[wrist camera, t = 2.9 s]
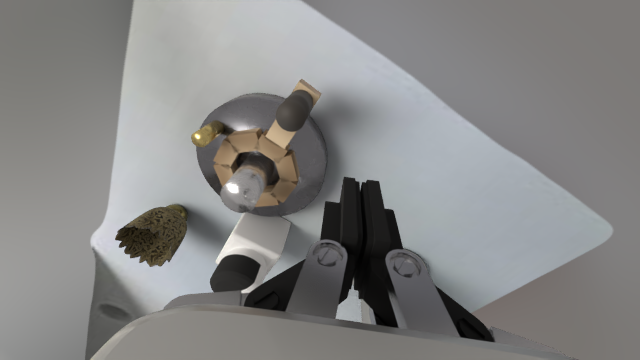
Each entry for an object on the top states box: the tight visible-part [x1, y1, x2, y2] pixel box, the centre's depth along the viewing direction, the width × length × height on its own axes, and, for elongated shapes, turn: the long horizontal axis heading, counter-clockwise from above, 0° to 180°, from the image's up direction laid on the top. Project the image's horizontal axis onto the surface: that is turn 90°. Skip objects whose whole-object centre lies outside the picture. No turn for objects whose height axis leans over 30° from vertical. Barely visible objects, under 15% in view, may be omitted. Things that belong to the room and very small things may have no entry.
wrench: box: [213, 79, 321, 207], centre depth 25 cm, size 16×10×7 cm, turn 145°
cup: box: [115, 204, 188, 267], centre depth 36 cm, size 8×7×8 cm
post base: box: [191, 93, 327, 217], centre depth 28 cm, size 16×16×10 cm
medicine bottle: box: [210, 212, 291, 293], centre depth 34 cm, size 7×7×12 cm
